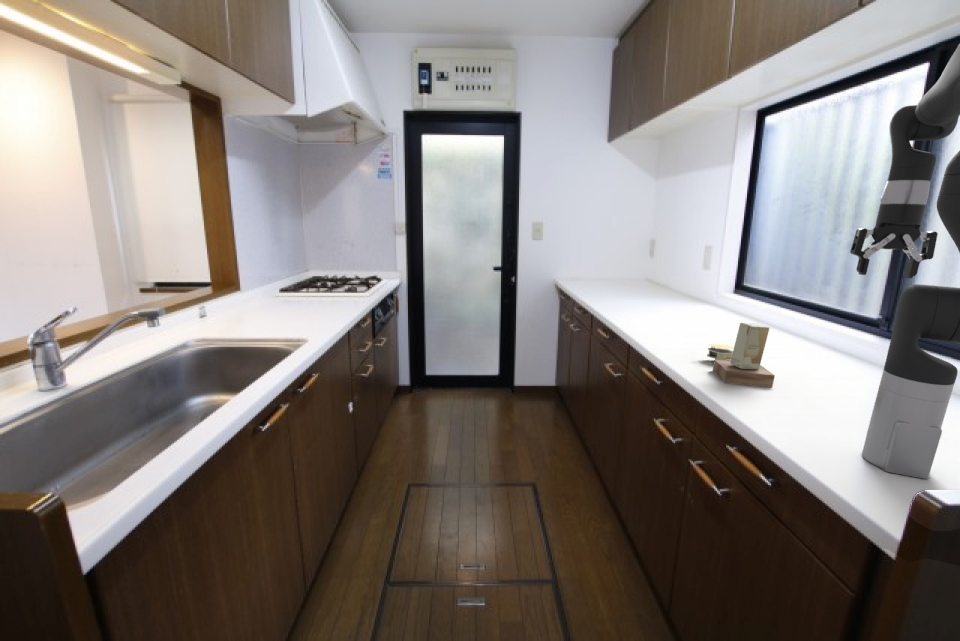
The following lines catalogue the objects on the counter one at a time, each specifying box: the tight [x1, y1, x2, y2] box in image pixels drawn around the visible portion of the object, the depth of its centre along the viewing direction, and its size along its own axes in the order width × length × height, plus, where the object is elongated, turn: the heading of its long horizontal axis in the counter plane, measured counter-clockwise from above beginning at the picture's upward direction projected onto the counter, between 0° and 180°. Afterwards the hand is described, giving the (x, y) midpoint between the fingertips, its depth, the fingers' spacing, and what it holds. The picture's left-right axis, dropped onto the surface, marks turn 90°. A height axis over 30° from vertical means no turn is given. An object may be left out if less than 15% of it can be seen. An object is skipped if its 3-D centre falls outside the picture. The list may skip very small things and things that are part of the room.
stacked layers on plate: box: [706, 343, 734, 361], centre depth 142 cm, size 10×9×6 cm
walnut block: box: [712, 359, 775, 388], centre depth 127 cm, size 10×12×4 cm
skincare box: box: [730, 322, 770, 369], centre depth 125 cm, size 6×4×12 cm
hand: (884, 276), depth 103 cm, fingers open, 8 cm apart
